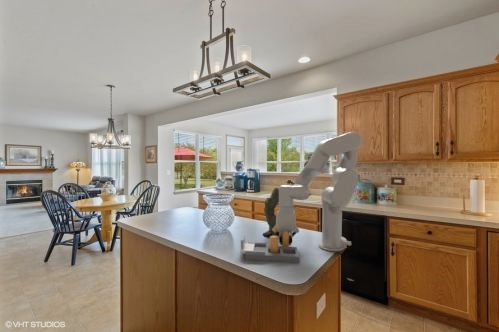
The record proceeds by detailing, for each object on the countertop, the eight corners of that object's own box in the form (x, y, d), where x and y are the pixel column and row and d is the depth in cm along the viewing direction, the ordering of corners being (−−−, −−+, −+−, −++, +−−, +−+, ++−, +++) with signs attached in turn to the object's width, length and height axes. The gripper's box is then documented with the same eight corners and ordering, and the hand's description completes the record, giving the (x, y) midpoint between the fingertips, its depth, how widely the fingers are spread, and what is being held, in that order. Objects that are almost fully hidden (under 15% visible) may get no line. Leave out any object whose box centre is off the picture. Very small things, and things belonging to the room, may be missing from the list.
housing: (296, 252, 115) (296, 244, 115) (299, 262, 103) (299, 253, 103) (247, 249, 117) (248, 242, 117) (245, 259, 105) (245, 251, 105)
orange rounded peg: (289, 246, 123) (289, 229, 123) (289, 248, 119) (289, 231, 119) (281, 245, 124) (281, 228, 123) (281, 248, 120) (281, 231, 120)
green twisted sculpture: (259, 237, 135) (272, 186, 136) (256, 233, 142) (268, 185, 143) (281, 240, 138) (293, 191, 140) (276, 237, 145) (288, 190, 147)
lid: (254, 245, 116) (254, 235, 116) (253, 253, 106) (253, 242, 106) (242, 245, 116) (242, 235, 116) (240, 252, 107) (240, 241, 107)
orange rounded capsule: (278, 254, 112) (278, 235, 112) (278, 257, 108) (278, 238, 108) (269, 254, 112) (270, 235, 112) (269, 257, 108) (269, 238, 108)
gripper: (301, 208, 124) (300, 242, 124) (269, 207, 126) (269, 241, 126) (303, 211, 117) (302, 247, 117) (269, 210, 118) (269, 246, 118)
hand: (285, 243), depth 121 cm, fingers closed on orange rounded peg, 4 cm apart
